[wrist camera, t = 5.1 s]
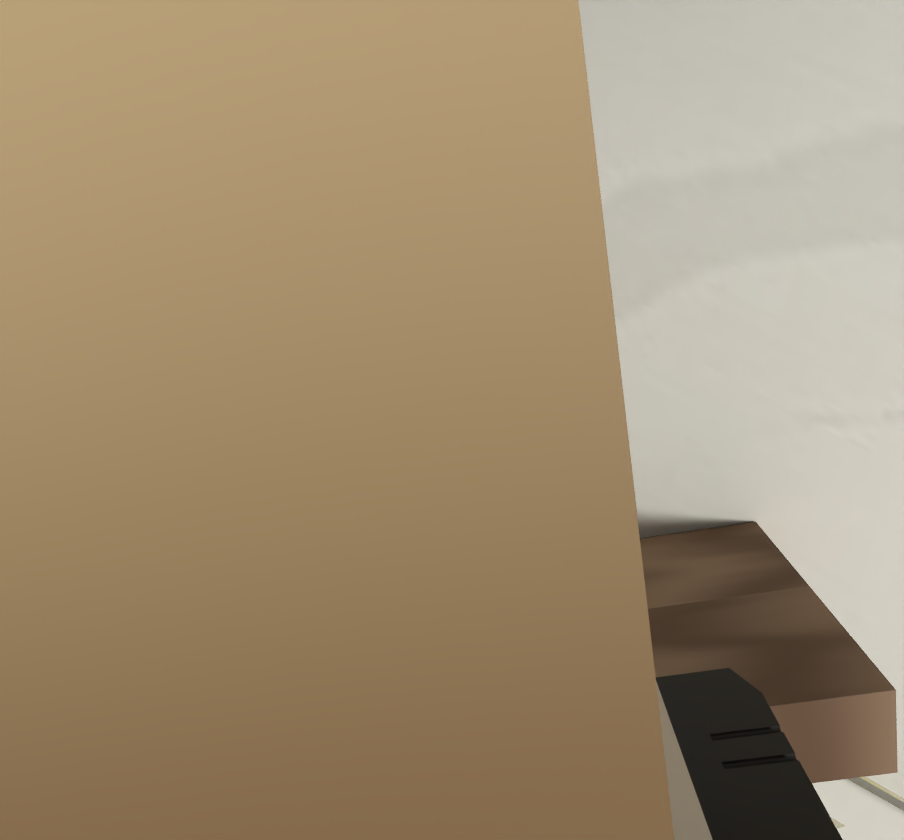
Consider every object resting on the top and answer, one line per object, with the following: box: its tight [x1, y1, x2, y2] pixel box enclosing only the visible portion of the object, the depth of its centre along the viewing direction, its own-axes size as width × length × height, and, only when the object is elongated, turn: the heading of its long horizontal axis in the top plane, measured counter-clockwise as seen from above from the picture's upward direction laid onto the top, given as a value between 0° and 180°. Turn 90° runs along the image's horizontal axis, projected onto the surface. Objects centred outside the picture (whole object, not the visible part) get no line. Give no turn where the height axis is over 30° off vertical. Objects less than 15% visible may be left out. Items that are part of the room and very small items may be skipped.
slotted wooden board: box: [640, 522, 897, 783], centre depth 25 cm, size 15×2×10 cm, turn 100°
